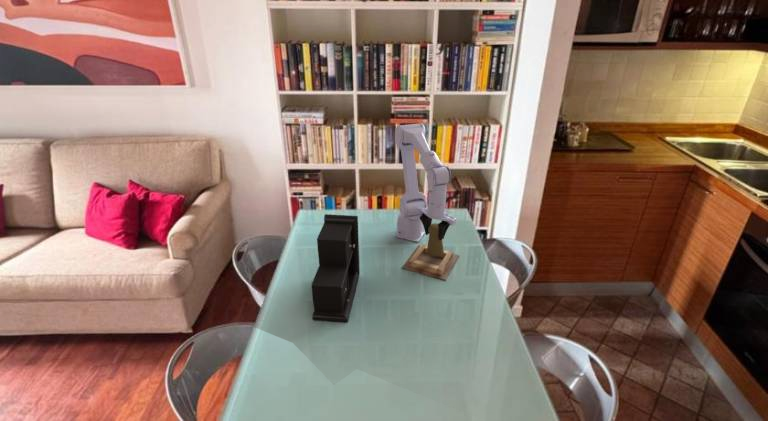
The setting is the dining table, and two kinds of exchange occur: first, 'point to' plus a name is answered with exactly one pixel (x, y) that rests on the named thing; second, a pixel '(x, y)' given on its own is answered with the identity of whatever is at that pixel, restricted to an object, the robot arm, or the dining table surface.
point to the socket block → (431, 263)
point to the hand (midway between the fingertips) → (434, 236)
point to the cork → (434, 241)
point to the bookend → (336, 268)
